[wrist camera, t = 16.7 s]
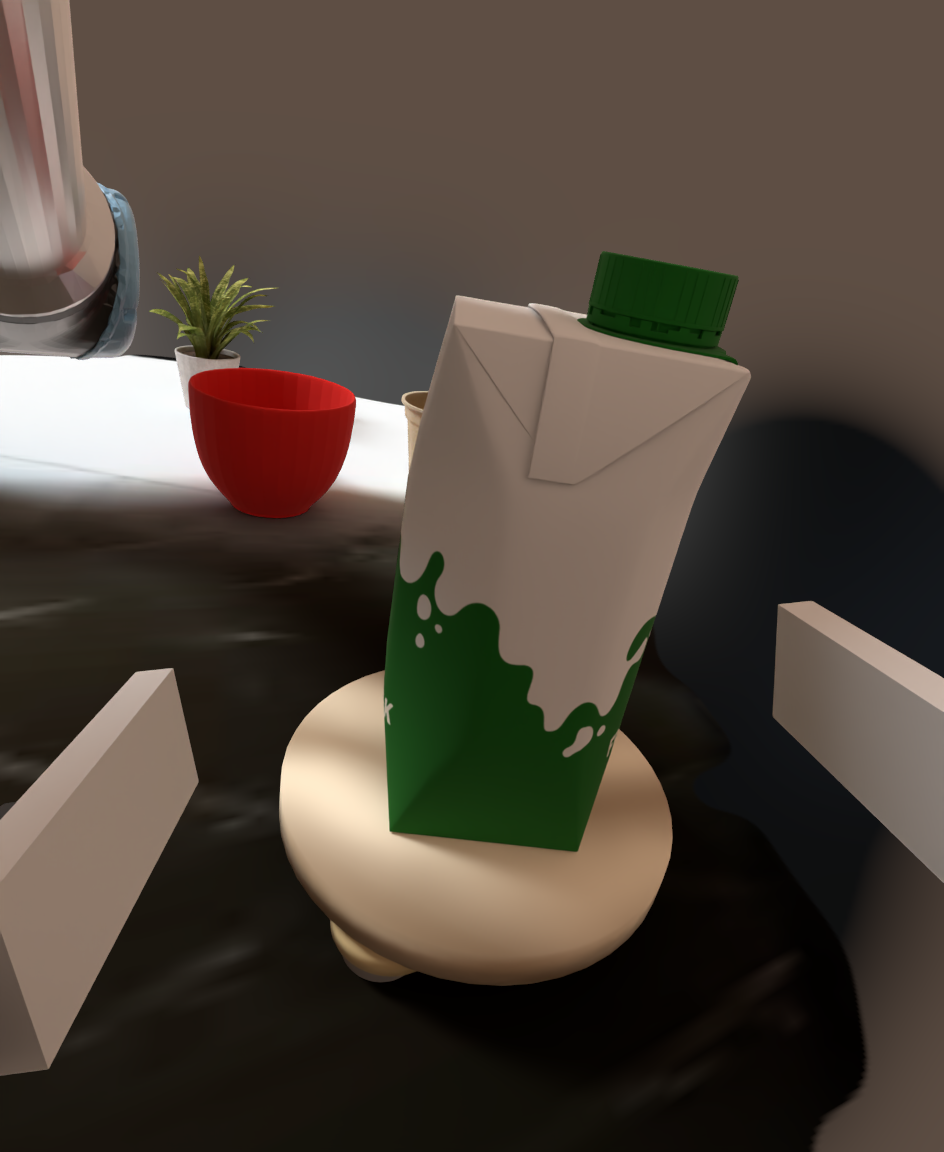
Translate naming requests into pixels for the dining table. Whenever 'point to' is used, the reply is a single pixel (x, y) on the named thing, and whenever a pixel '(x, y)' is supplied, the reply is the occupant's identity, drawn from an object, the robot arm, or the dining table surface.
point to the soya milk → (545, 544)
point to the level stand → (460, 863)
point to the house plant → (207, 323)
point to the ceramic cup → (270, 436)
